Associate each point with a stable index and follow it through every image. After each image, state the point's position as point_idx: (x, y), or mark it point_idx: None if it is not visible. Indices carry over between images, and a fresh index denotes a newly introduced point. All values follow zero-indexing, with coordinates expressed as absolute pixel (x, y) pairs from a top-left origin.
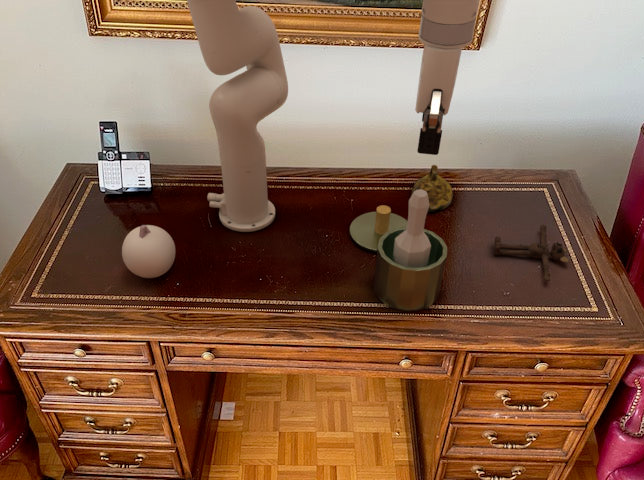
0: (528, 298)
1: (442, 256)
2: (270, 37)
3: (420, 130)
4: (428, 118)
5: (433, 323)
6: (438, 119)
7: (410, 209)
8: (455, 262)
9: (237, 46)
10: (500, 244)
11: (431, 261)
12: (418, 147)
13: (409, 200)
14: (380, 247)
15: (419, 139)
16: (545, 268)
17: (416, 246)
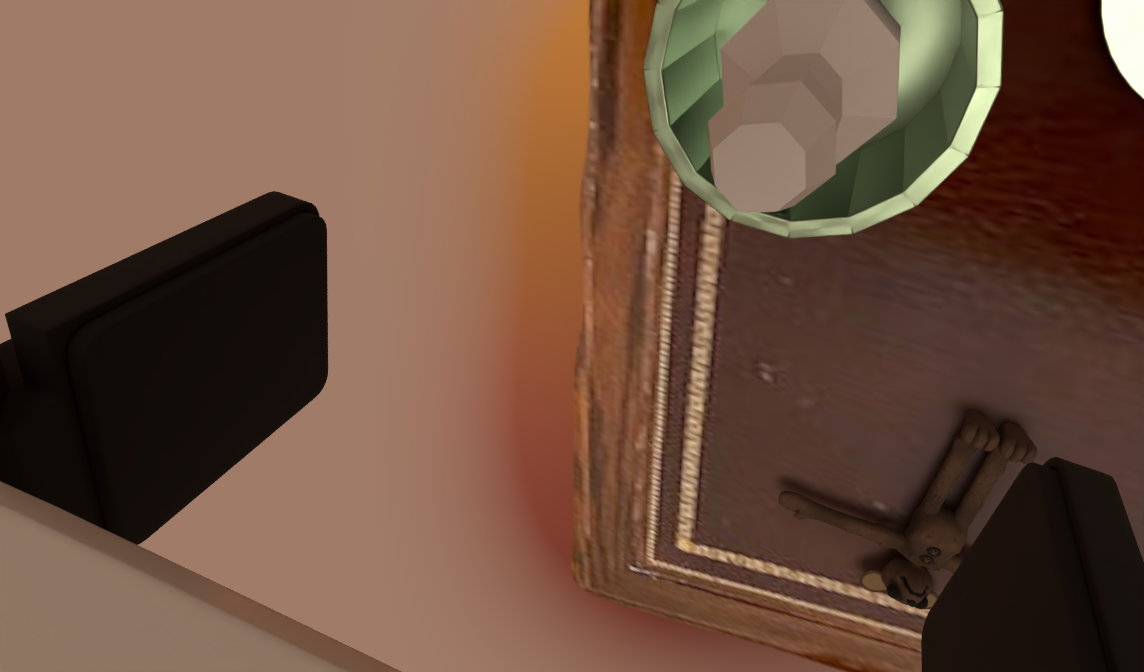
0: (737, 420)
1: (729, 202)
2: None
3: (18, 309)
4: (1002, 555)
5: (643, 108)
6: (934, 647)
7: (752, 82)
8: (962, 266)
9: None
10: (974, 447)
11: (874, 164)
12: (235, 213)
13: (793, 86)
14: None
15: (142, 253)
16: (831, 517)
17: (733, 90)
